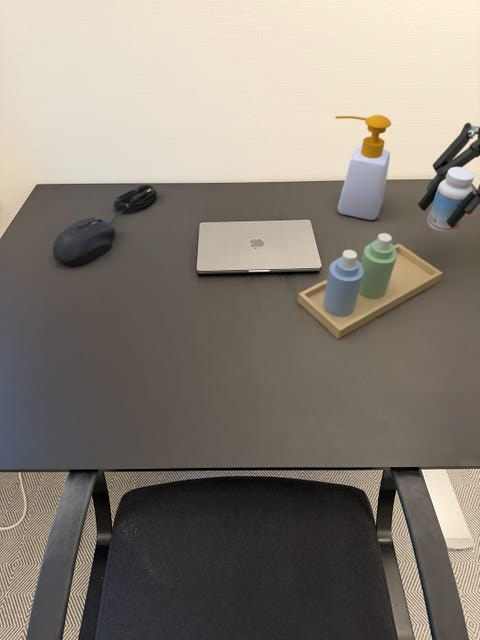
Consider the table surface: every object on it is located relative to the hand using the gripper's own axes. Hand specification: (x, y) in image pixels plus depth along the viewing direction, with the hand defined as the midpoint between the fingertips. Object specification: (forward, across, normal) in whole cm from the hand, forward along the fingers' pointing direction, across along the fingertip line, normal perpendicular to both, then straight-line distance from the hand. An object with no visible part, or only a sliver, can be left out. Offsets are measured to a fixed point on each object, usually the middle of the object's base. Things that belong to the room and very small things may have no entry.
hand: (435, 215), depth 90 cm
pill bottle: (0, 0, -5) cm, 5 cm away
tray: (+19, 0, +1) cm, 19 cm away
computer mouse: (+43, +49, +25) cm, 69 cm away
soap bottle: (+6, +24, -12) cm, 28 cm away
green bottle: (+18, 0, +2) cm, 18 cm away
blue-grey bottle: (+24, 0, +8) cm, 25 cm away
